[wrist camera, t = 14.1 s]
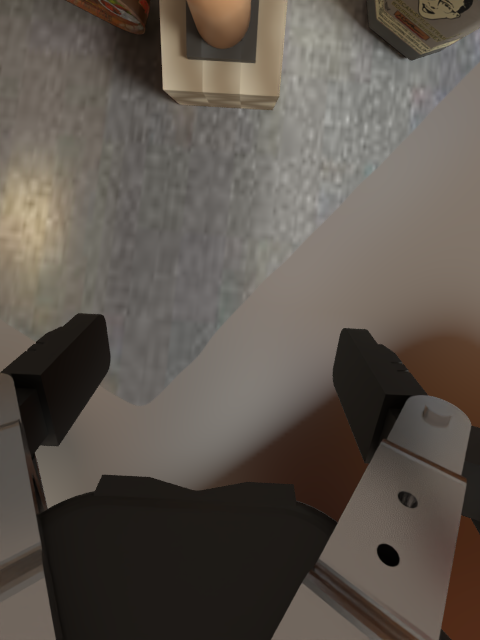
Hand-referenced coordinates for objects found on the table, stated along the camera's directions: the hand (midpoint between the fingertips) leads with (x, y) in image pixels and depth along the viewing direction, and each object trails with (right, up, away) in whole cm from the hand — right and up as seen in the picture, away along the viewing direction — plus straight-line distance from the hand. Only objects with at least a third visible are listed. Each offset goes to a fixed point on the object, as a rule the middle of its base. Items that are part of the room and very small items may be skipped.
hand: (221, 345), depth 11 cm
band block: (-1, +28, +22) cm, 36 cm away
